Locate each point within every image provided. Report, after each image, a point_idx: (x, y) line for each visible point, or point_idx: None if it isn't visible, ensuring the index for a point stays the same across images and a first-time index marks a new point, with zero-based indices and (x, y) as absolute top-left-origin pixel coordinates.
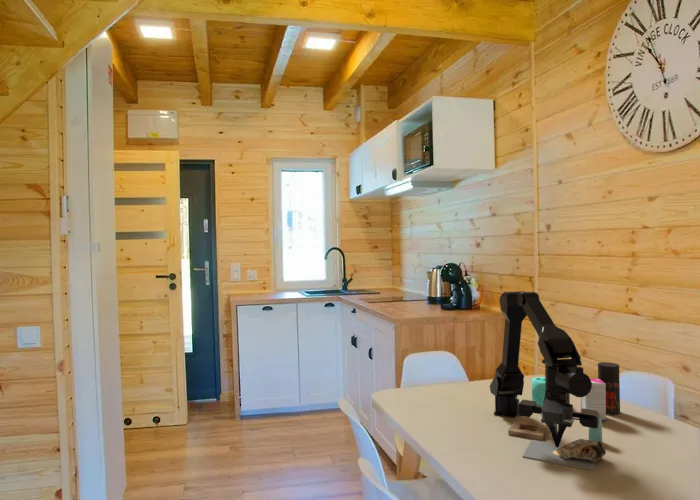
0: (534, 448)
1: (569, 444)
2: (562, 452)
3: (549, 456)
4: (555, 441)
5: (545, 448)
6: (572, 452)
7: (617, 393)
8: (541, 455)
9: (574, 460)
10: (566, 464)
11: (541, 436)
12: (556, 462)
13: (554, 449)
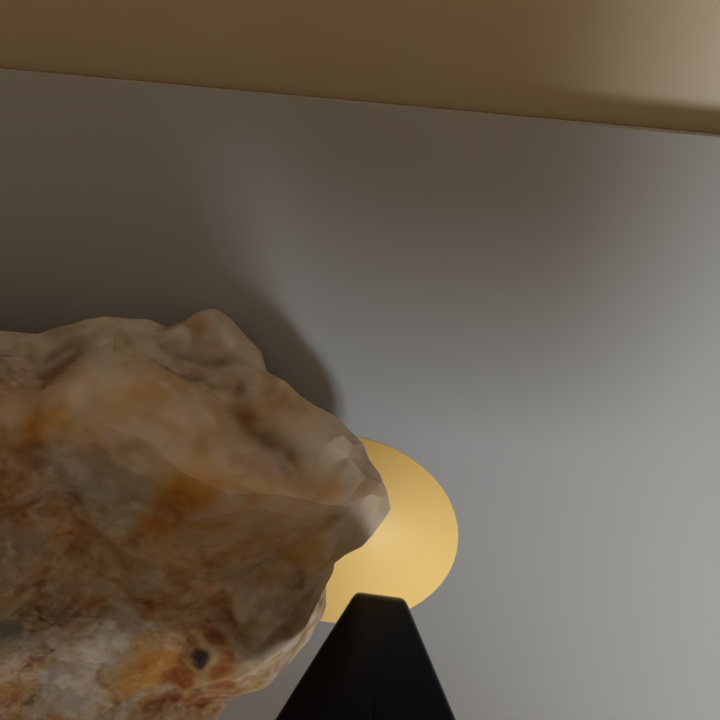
0: None
1: (163, 715)
2: (259, 417)
3: (519, 357)
4: (406, 694)
5: (569, 635)
6: (14, 384)
7: None
8: (674, 353)
9: None
10: (177, 91)
11: None
12: (381, 107)
13: (431, 635)
